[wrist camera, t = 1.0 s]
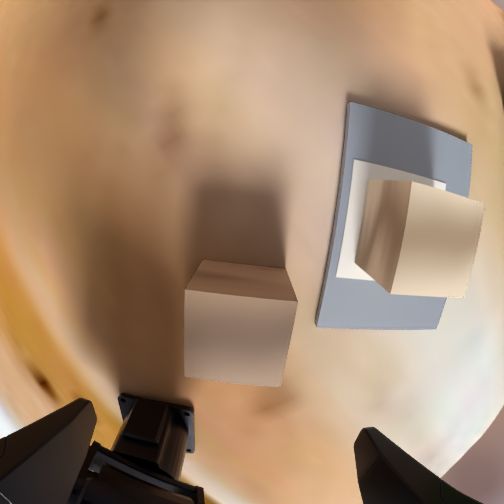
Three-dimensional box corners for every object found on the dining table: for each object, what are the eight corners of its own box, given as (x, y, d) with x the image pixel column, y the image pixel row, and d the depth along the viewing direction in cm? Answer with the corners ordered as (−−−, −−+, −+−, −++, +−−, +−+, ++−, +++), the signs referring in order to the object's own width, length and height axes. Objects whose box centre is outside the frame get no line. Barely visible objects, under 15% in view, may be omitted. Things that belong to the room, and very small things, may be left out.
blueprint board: (432, 325, 18) (436, 329, 18) (314, 323, 18) (316, 328, 17) (467, 145, 15) (473, 144, 14) (347, 104, 15) (350, 101, 14)
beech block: (419, 270, 16) (464, 298, 12) (354, 262, 16) (390, 294, 12) (433, 195, 15) (484, 203, 10) (367, 179, 15) (411, 181, 10)
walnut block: (273, 338, 18) (280, 386, 14) (199, 330, 18) (184, 376, 14) (285, 268, 17) (297, 301, 12) (203, 259, 17) (185, 289, 12)
